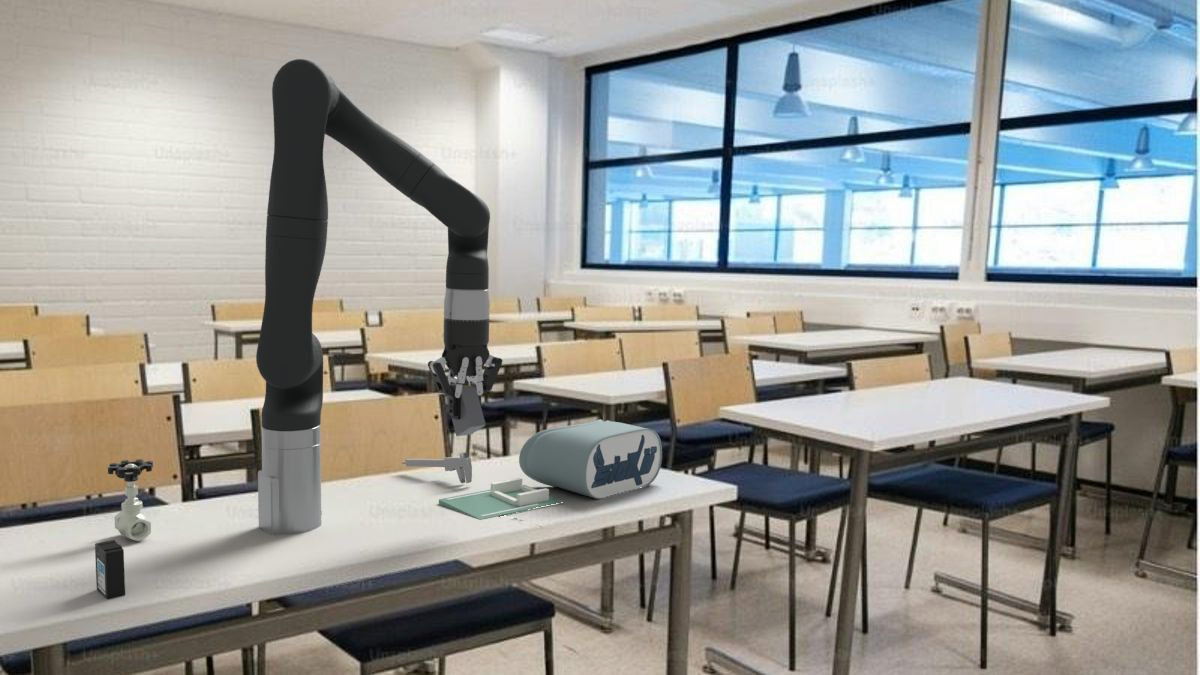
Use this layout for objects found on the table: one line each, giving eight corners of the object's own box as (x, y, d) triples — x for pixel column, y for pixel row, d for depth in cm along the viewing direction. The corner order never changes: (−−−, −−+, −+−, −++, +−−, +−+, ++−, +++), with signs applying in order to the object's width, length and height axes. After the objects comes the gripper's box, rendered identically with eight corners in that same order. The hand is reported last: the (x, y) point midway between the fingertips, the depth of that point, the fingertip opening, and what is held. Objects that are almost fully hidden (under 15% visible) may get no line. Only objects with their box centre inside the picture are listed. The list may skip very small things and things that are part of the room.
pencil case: (584, 509, 167) (586, 440, 166) (516, 487, 180) (517, 423, 179) (661, 486, 183) (663, 424, 181) (593, 468, 196) (594, 409, 194)
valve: (117, 547, 141) (114, 472, 139) (103, 536, 145) (101, 463, 144) (162, 538, 145) (160, 465, 144) (147, 528, 150) (145, 456, 149)
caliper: (471, 484, 179) (472, 453, 179) (467, 485, 178) (468, 454, 178) (405, 464, 192) (406, 434, 191) (401, 464, 191) (402, 435, 190)
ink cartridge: (96, 599, 122) (93, 541, 121) (114, 595, 123) (112, 537, 122) (106, 611, 118) (104, 551, 117) (125, 606, 120) (123, 547, 119)
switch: (470, 427, 150) (459, 384, 152) (456, 436, 153) (445, 394, 155) (485, 424, 152) (474, 382, 153) (471, 434, 155) (460, 393, 157)
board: (480, 526, 156) (480, 507, 155) (438, 505, 166) (438, 488, 166) (563, 507, 167) (564, 490, 167) (519, 489, 178) (520, 473, 177)
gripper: (441, 319, 144) (439, 426, 146) (514, 316, 153) (511, 417, 155) (418, 315, 150) (416, 418, 152) (489, 312, 159) (487, 409, 161)
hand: (465, 417), depth 154 cm, fingers closed on switch, 2 cm apart
